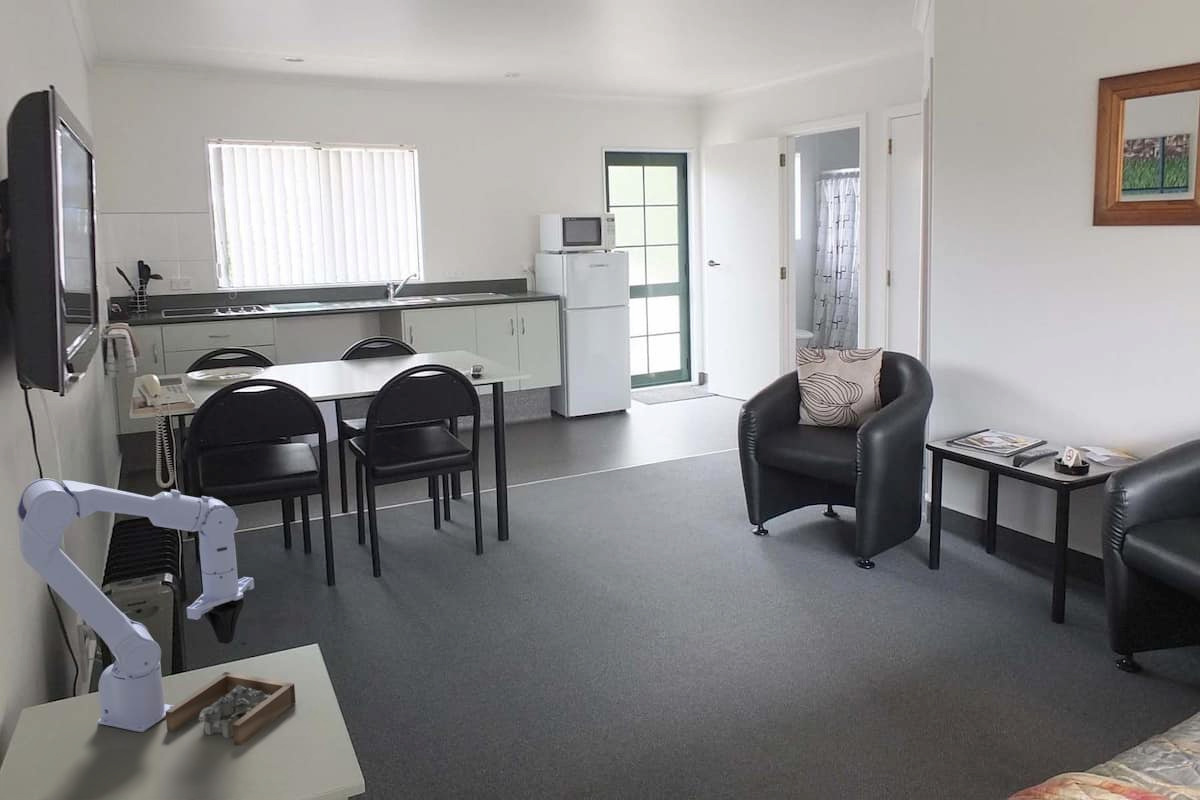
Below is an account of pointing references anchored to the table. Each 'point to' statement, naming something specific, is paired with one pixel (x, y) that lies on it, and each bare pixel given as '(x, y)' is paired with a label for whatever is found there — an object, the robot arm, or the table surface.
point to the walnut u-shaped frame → (224, 685)
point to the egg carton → (230, 709)
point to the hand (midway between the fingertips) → (225, 641)
